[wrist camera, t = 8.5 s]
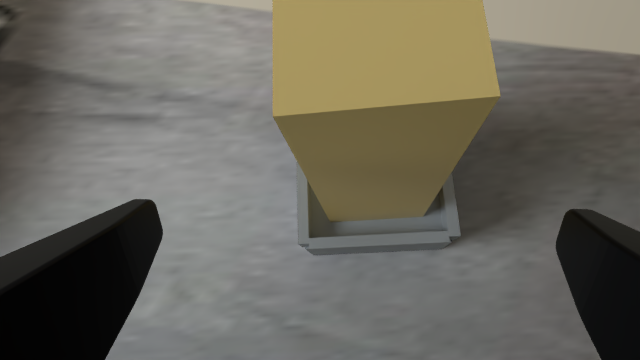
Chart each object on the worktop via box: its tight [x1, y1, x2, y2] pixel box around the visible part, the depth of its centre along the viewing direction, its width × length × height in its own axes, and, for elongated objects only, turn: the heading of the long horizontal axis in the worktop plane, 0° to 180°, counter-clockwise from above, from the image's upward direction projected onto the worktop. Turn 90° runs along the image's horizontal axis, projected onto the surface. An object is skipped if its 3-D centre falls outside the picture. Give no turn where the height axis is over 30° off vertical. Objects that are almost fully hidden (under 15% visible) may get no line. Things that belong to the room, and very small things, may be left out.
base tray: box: [297, 162, 461, 255], centre depth 21 cm, size 7×7×4 cm
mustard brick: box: [273, 0, 500, 222], centre depth 14 cm, size 4×4×12 cm
